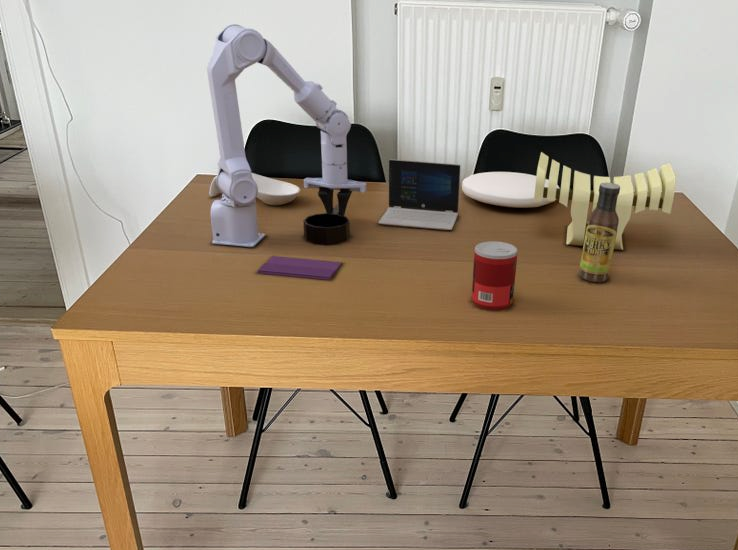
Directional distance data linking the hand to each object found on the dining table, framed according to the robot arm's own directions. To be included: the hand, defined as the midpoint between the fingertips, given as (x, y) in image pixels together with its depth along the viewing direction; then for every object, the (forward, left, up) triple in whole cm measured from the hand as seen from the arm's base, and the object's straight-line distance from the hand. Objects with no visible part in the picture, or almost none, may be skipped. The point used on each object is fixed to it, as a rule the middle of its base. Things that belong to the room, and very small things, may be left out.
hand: (336, 219), depth 174 cm
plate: (+39, +33, -2) cm, 52 cm away
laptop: (+18, +9, -2) cm, 21 cm away
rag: (0, -28, -2) cm, 28 cm away
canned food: (+40, -35, -2) cm, 54 cm away
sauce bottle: (+60, -18, -2) cm, 63 cm away
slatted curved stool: (+61, +6, -2) cm, 62 cm away
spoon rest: (-26, +14, -2) cm, 29 cm away
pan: (0, -4, -2) cm, 5 cm away
